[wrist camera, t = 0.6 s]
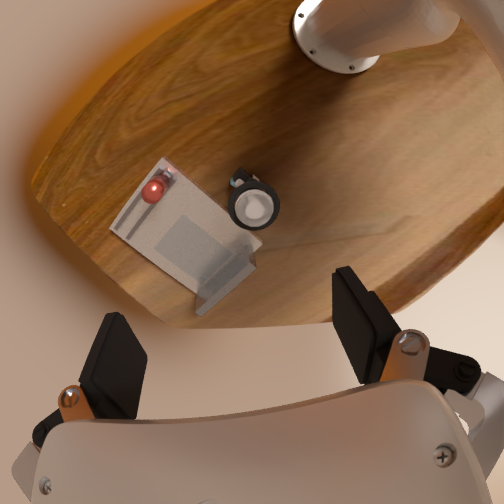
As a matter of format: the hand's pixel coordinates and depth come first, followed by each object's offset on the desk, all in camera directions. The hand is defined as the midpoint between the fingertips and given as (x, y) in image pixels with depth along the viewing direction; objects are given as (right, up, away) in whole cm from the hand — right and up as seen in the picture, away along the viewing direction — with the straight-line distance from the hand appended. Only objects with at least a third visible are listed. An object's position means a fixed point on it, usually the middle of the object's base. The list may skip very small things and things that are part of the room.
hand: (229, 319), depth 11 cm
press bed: (-9, +6, +27) cm, 29 cm away
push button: (+1, +12, +25) cm, 27 cm away
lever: (-10, +12, +21) cm, 27 cm away
